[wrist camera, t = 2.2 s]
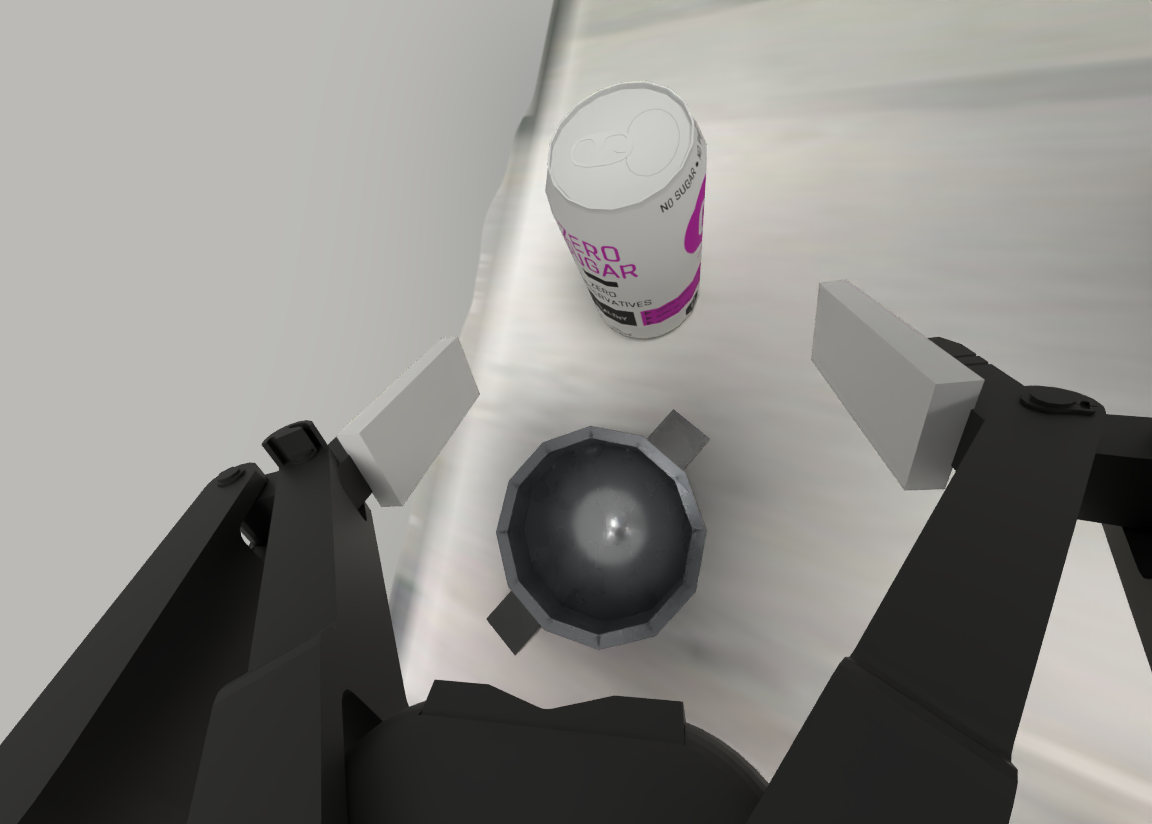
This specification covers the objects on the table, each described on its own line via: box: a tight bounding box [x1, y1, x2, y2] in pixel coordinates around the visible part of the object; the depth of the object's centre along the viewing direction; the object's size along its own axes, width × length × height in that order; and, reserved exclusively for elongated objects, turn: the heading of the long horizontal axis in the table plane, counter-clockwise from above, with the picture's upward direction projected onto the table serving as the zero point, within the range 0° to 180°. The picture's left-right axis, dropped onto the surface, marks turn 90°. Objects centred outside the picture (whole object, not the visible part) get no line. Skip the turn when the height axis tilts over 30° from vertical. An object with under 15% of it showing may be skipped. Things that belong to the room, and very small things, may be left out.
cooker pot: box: [487, 409, 710, 655], centre depth 28 cm, size 19×14×4 cm
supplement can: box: [545, 81, 707, 339], centre depth 26 cm, size 8×8×15 cm
